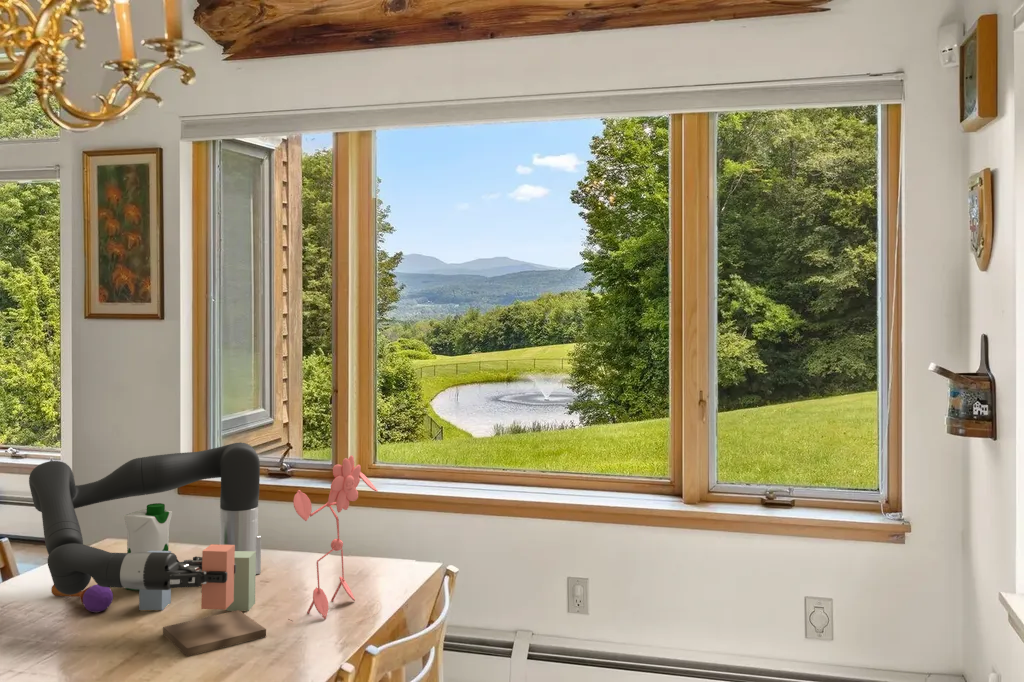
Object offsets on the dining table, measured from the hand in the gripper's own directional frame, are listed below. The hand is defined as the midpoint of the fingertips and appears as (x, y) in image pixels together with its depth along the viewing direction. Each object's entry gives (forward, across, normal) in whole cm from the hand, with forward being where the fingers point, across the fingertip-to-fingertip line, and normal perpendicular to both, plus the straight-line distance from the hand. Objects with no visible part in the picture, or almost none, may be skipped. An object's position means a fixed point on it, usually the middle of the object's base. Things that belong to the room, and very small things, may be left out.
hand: (230, 572), depth 172 cm
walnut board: (-2, -2, +12) cm, 13 cm away
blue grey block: (-21, +14, +13) cm, 28 cm away
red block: (-3, 0, +7) cm, 7 cm away
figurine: (+22, +13, +12) cm, 28 cm away
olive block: (-2, +15, +12) cm, 19 cm away
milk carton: (-29, +28, +13) cm, 42 cm away
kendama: (-39, +15, +13) cm, 44 cm away
